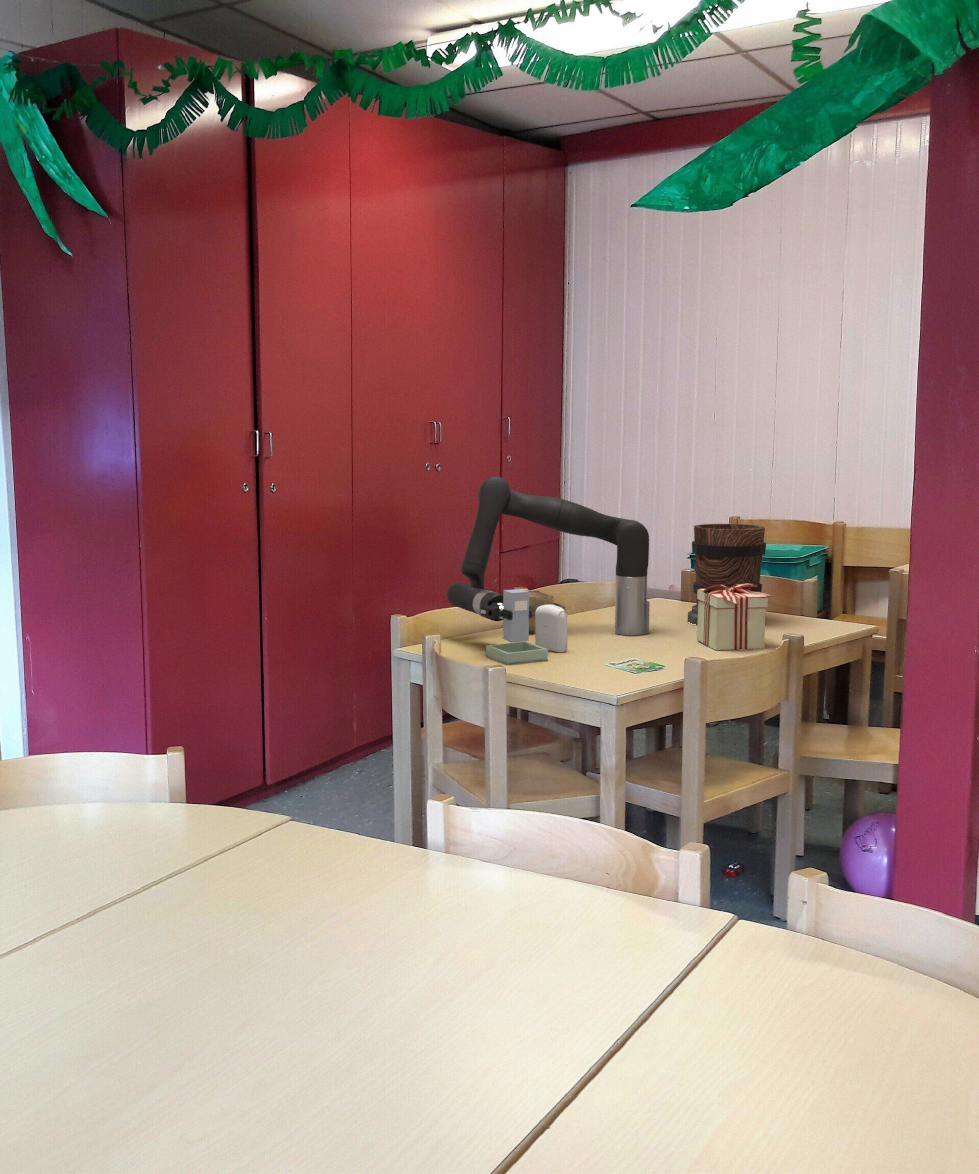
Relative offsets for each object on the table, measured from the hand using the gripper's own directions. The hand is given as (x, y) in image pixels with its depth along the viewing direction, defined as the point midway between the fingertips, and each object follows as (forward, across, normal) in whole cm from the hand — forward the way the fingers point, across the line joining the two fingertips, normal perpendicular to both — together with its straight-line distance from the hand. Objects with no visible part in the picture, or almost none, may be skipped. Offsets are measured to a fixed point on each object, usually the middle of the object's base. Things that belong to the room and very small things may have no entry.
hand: (520, 615), depth 280 cm
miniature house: (-34, +26, +12) cm, 44 cm away
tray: (-2, 0, +12) cm, 12 cm away
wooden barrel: (-21, +86, +12) cm, 89 cm away
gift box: (+10, +62, +12) cm, 64 cm away
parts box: (-3, 0, +7) cm, 7 cm away
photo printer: (-8, +14, +12) cm, 21 cm away
